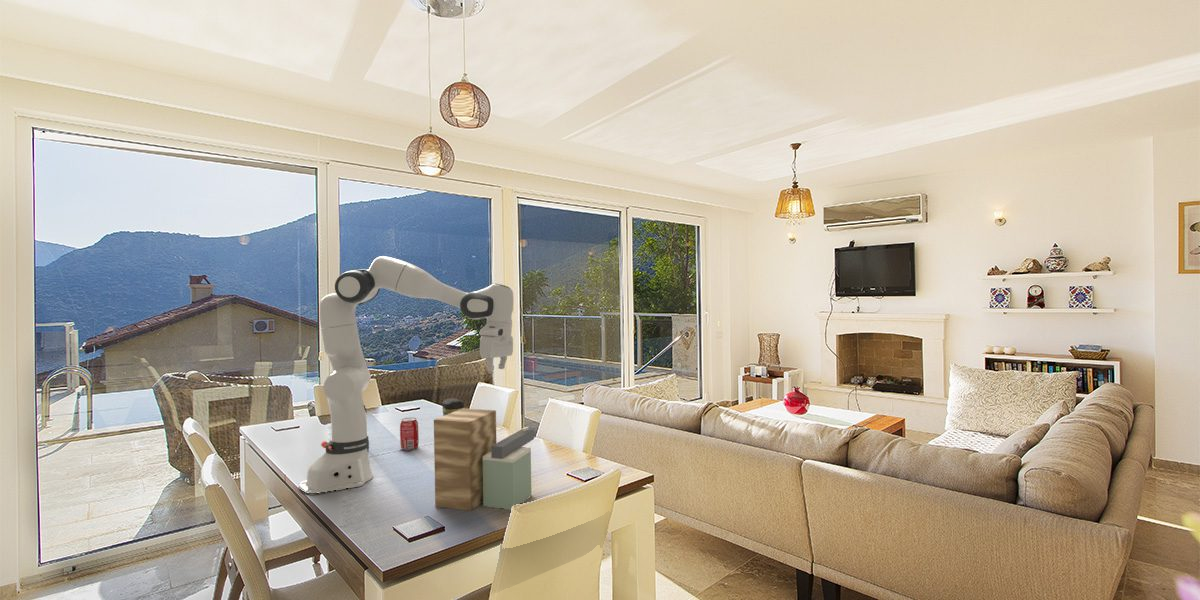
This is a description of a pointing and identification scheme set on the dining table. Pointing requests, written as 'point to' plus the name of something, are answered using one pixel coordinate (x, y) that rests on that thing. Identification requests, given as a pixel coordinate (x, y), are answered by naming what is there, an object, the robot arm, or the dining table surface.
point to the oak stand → (462, 456)
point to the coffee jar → (451, 405)
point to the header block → (507, 479)
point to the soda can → (409, 433)
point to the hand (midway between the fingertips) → (495, 369)
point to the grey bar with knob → (512, 443)
